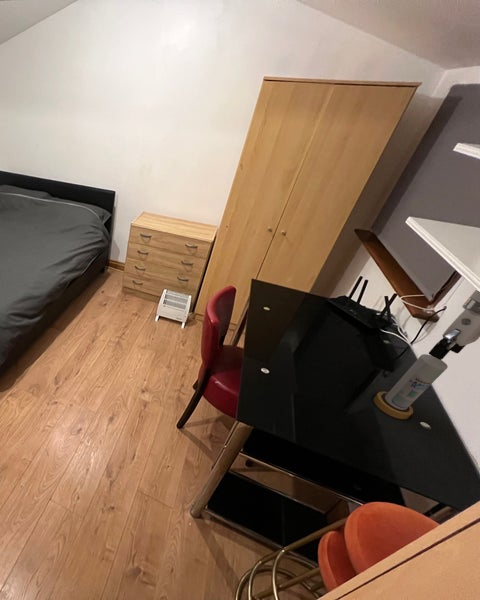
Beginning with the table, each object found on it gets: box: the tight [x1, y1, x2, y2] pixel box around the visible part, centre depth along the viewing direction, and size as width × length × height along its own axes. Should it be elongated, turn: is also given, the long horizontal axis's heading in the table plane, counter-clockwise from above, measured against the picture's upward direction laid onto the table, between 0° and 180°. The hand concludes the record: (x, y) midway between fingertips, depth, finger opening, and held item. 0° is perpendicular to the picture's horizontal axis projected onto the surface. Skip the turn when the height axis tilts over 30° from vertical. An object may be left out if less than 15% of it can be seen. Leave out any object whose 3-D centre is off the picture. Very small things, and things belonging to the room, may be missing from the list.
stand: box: [373, 391, 414, 420], centre depth 114 cm, size 10×10×3 cm
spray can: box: [385, 353, 449, 410], centre depth 107 cm, size 6×6×20 cm
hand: (443, 353), depth 100 cm, fingers open, 9 cm apart
